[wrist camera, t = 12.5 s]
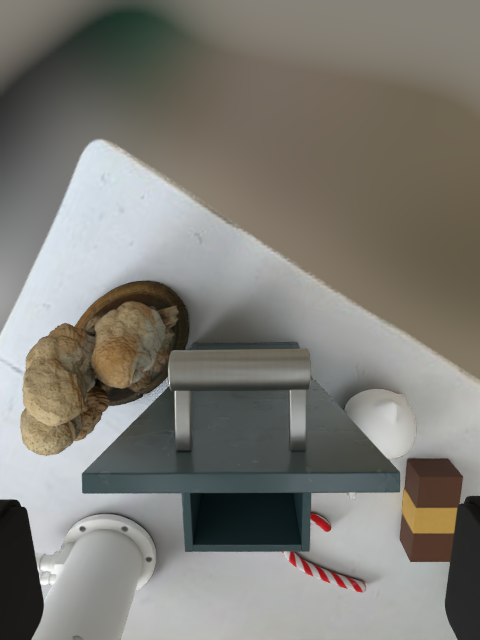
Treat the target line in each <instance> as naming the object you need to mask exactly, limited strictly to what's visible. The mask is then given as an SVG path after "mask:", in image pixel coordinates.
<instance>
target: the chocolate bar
mask: <svg viewBox="0 0 480 640" xmlns="http://www.w3.org/2000/svg"><path fill="white" fill-rule="evenodd" d="M462 480H463V476H462V475H461V474H460V472H459V471H458V470H457V469H456V468H455V467H454V465H453V464H452V463H451V462H450V461H449V459H407V469H406V480H405V488H404V494H403V505H402V521H401V531H400V541H401V543H402V545H403V547H404V549H405V552H406V554H407V556H408V558H409V560H410V562H450V560H451V553H452V545H453V537H454V530H455V522H456V514H457V508H458V506H459V502H460V495H461V487H462Z"/></svg>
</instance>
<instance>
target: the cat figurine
mask: <svg viewBox="0 0 480 640" xmlns="http://www.w3.org/2000/svg"><path fill="white" fill-rule="evenodd" d="M344 412H345V413H346V414H347V415H348V416H349V417H350V419H351V420H352V421H353V422H354V423H355V424H356V425H357V426H358V427H359V428H360V429H361V430H362V432H363V433H364V434H365V435H366V436H367V437H368V438H369V439H370V440H371V441H372V442H373V444H374V445H375V446H376V447H377V448H378V449H379V450H380V451H381V452H382V453H383V454H384V456H385V457H386V458H388V459H393V458H399V457H401V456H403V455H405V454H407V453H408V452H409V451H410V449H411V448H412V446H413V444H414V442H415V438H416V420H415V416H414V413H413V411H412V409H411V407H410V406H409V404H408V403H407V402H406V396H405V395H404V394H396V393H394V392H392V391H389V390H384V389H370V390H366V391H362V392H360V393H358V394H356V395H354V396H353V397H352V398H351V399H350V400H349V401H348V402H347V404H346V406H345V409H344ZM347 494H348V496H349V497H350V498H351V499H354V500H355V499H356V492H349V493H347Z"/></svg>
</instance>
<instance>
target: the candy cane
mask: <svg viewBox="0 0 480 640" xmlns="http://www.w3.org/2000/svg"><path fill="white" fill-rule="evenodd" d="M310 523H313V524H317V525H319V526H320V527H321V528H322V529H323V530H324V531H326V532H328V531H330V530H331V525H330V523H329V522H328V521H327V520H326V519H324V518H323V517H321V516H319V515H317V514H313V513H311V517H310ZM282 552H283V554H284V555H285V557H286V558H287V559H288V560H289V561H290V562H291V563H292V564H293V565H294V566H295V567H297V568H298V569H300V570H301V571H303V572H305V573H307V574H309V575H311V576H314V577H316V578H318V579H321V580H323V581H326V582H329V583H331V584H334V585H337V586H340V587H343V588H347V589H350V590H354V591H357V592H365V591H366V585H365V583H364V582H362V581H359V580H355V579H352V578H348V577H345V576H342V575H339V574H336V573H333V572H330V571H328V570H325V569H323V568H320V567H318V566H316V565H313V564H311V563H309V562H307V561H305V560H304V559H302V558H301V557H299V556H298V555H297V554H296V553H295V552H294V551H282Z"/></svg>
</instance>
